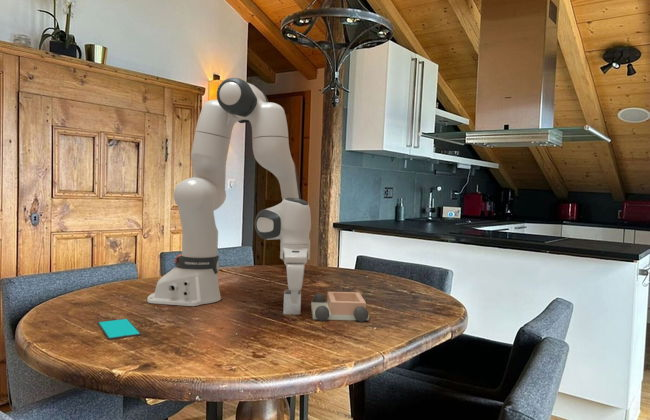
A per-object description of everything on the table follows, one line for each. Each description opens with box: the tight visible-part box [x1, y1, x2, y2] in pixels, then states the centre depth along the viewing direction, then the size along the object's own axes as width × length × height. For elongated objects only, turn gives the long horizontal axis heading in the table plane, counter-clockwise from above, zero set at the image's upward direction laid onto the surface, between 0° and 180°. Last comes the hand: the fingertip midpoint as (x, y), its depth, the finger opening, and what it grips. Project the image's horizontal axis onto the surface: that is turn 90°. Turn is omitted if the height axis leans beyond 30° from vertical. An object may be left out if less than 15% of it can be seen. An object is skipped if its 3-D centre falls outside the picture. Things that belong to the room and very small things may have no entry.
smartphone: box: [97, 318, 142, 341], centre depth 115 cm, size 7×1×15 cm
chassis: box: [310, 291, 370, 323], centre depth 139 cm, size 16×17×5 cm
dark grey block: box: [282, 289, 302, 316], centre depth 138 cm, size 5×4×6 cm
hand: (293, 299), depth 138 cm, fingers open, 8 cm apart
